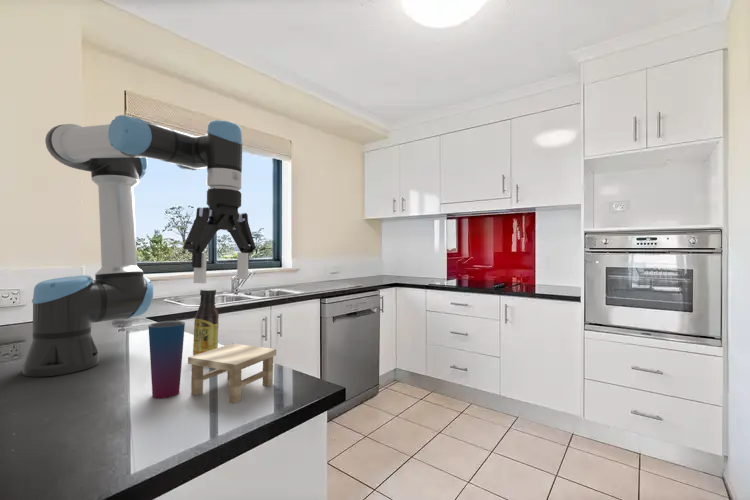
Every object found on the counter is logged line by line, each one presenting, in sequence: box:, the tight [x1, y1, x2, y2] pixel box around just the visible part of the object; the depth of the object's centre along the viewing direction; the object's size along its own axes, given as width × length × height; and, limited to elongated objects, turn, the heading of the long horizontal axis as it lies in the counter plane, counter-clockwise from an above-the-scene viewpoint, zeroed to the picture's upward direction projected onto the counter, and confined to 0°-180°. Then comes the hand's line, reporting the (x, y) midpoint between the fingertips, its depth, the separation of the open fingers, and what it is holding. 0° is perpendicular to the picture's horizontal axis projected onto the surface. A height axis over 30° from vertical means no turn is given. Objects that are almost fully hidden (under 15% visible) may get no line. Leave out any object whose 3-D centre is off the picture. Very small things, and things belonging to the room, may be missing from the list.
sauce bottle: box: [192, 288, 220, 356], centre depth 104 cm, size 6×6×20 cm
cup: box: [148, 320, 186, 399], centre depth 79 cm, size 7×7×15 cm
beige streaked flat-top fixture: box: [187, 343, 277, 404], centre depth 83 cm, size 13×13×8 cm
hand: (222, 281), depth 86 cm, fingers open, 13 cm apart
